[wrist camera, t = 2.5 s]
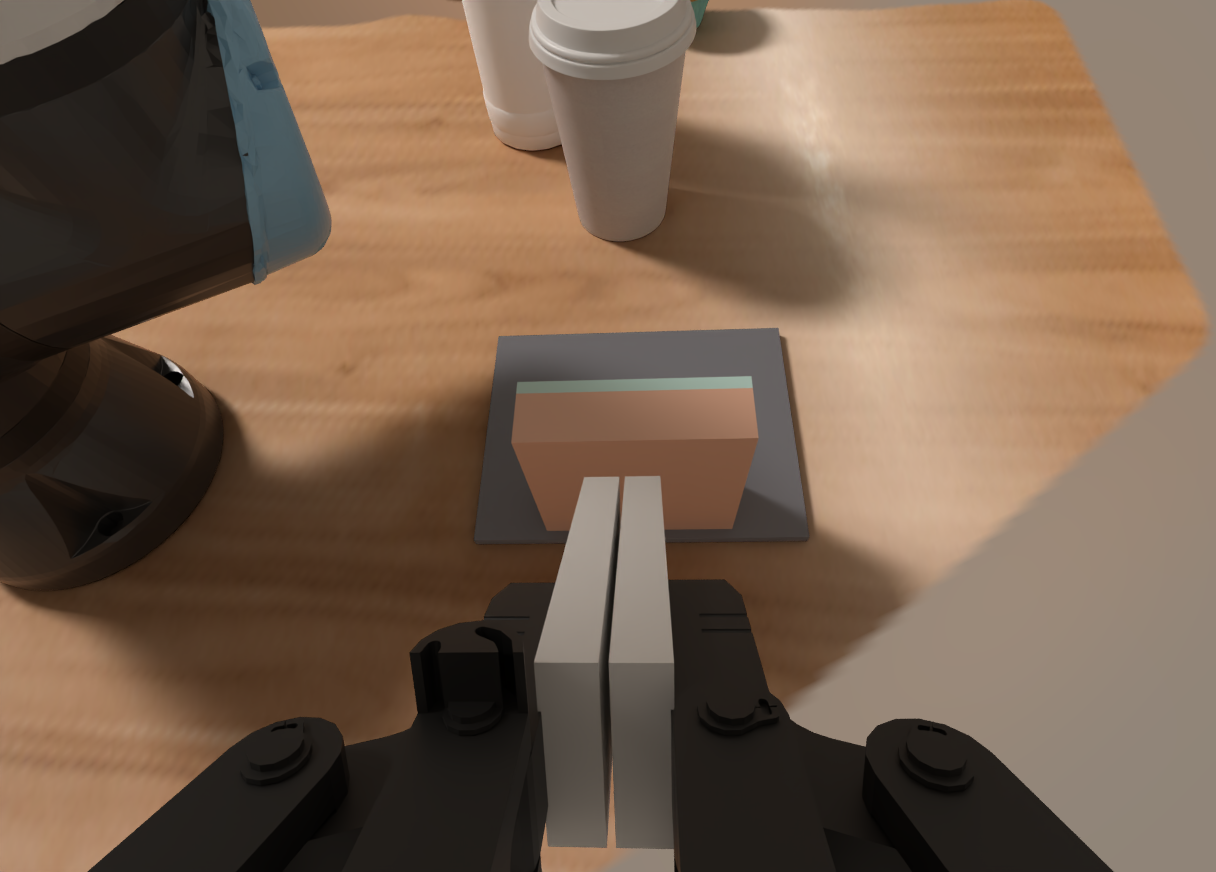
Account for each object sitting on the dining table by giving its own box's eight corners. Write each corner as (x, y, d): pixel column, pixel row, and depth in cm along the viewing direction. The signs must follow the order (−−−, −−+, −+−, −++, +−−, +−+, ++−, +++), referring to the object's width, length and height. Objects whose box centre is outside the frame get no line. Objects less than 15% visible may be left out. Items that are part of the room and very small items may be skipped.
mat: (476, 544, 35) (473, 540, 35) (500, 341, 42) (498, 336, 42) (806, 540, 34) (809, 537, 34) (776, 333, 41) (778, 328, 41)
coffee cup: (709, 229, 46) (731, 6, 33) (587, 274, 45) (560, 60, 32) (651, 153, 51) (651, -70, 38) (539, 192, 49) (498, -26, 36)
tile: (546, 530, 35) (511, 442, 26) (550, 481, 36) (517, 382, 28) (732, 529, 34) (758, 438, 26) (727, 478, 36) (751, 376, 27)
